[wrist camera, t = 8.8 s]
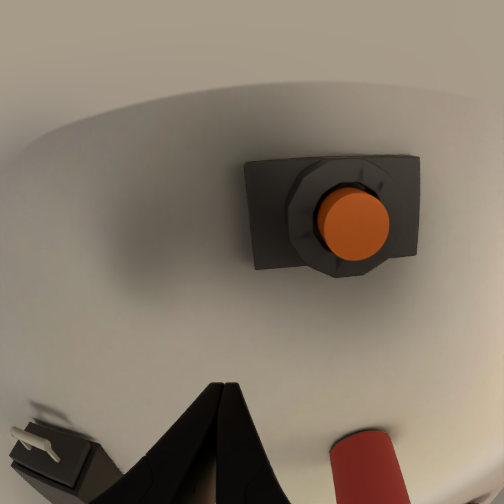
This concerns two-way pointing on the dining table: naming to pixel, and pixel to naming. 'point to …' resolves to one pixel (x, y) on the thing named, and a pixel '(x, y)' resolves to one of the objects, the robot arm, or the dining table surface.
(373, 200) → the button
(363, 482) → the beer can
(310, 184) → the control block
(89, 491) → the small storage cabinet
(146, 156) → the dining table surface
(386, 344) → the dining table surface
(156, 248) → the dining table surface
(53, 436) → the drawer
